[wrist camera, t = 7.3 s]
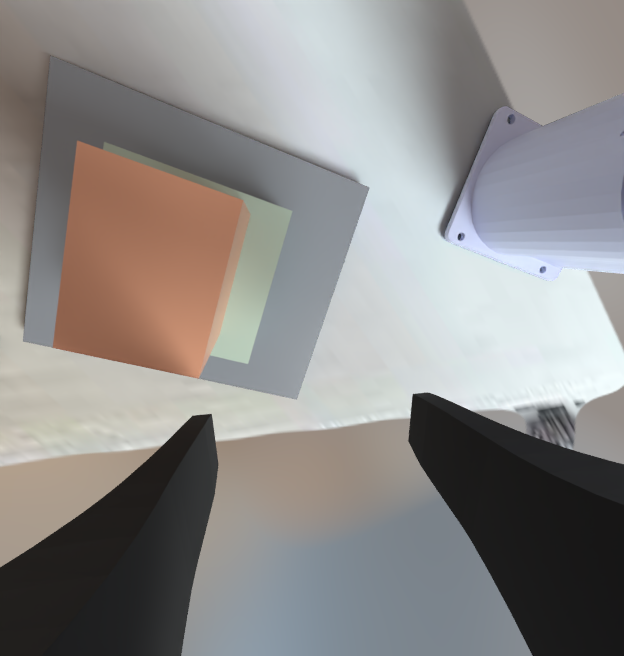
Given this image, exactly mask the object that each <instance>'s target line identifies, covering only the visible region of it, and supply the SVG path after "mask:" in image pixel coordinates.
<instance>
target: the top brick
mask: <svg viewBox="0 0 624 656" xmlns="http://www.w3.org/2000/svg"><path fill="white" fill-rule="evenodd" d="M250 215H251V214H250V212H249V210H248V208H247V207H246V205H245V203H244V201H243V200H241V199H239V198H236V197H233V196H230V195H227V194H225V193H222V192H219V191H216V190H214V189H211V188H208V187H205V186H202V185H200V184H197V183H194V182H191V181H189V180H186V179H183V178H180V177H177V176H175V175H172V174H169V173H166V172H164V171H161V170H158V169H155V168H152V167H150V166H147V165H144V164H141V163H139V162H136V161H133V160H130V159H127V158H125V157H122V156H119V155H116V154H114V153H111V152H108V151H105V150H102V149H100V148H97V147H94V146H91V145H89V144H86V143H83V142H80V141H77V146H76V155H75V163H74V172H73V180H72V188H71V197H70V205H69V214H68V222H67V231H66V239H65V248H64V256H63V264H62V273H61V281H60V290H59V298H58V307H57V315H56V323H55V332H54V340H53V348H56V349H61V350H66V351H70V352H75V353H80V354H85V355H89V356H94V357H99V358H104V359H108V360H113V361H118V362H123V363H127V364H132V365H137V366H142V367H146V368H151V369H156V370H161V371H165V372H170V373H175V374H180V375H184V376H189V377H194V378H199V377H200V375H201V373H202V371H203V369H204V367H205V365H206V362H207V360H208V358H209V356H210V354H211V352H212V350H213V348H214V345H215V343H216V341H217V339H218V337H219V335H220V331H221V328H222V324H223V320H224V316H225V312H226V308H227V304H228V300H229V296H230V293H231V289H232V285H233V281H234V277H235V273H236V269H237V265H238V262H239V258H240V254H241V250H242V246H243V242H244V238H245V234H246V230H247V227H248V223H249V219H250Z"/></svg>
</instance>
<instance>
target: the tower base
mask: <svg viewBox="0 0 624 656" xmlns="http://www.w3.org/2000/svg"><path fill="white" fill-rule="evenodd" d="M77 141H80V142H83V143H86V144H89V145H91V146H94V147H97V148H100V149H102V150H105V151H108V152H111V153H114V154H116V155H119V156H122V157H125V158H127V159H130V160H133V161H136V162H139V163H141V164H144V165H147V166H150V167H152V168H155V169H158V170H161V171H164V172H166V173H169V174H172V175H175V176H177V177H180V178H183V179H186V180H189V181H191V182H194V183H197V184H200V185H202V186H205V187H208V188H211V189H214V190H216V191H219V192H222V193H225V194H227V195H230V196H233V197H236V198H239V199H241V200H243V201H244V203H245V205H246V207H247V208H248V210H249V212H250V214H251V215H250V219H249V223H248V227H247V230H246V234H245V238H244V242H243V246H242V250H241V254H240V258H239V262H238V265H237V269H236V273H235V277H234V281H233V285H232V289H231V293H230V296H229V300H228V304H227V308H226V312H225V316H224V320H223V324H222V328H221V331H220V335H219V337H218V339H217V341H216V343H215V345H214V348H213V350H212V352H211V354H210V356H209V358H208V360H207V362H206V365H205V367H204V369H203V371H202V373H201V375H200V377H199V378H198V379H203V380H208V381H212V382H217V383H222V384H226V385H231V386H236V387H241V388H245V389H250V390H255V391H259V392H264V393H269V394H273V395H278V396H283V397H288V398H292V399H297V397H298V394H299V392H300V389H301V386H302V383H303V380H304V377H305V374H306V371H307V368H308V365H309V362H310V360H311V357H312V354H313V351H314V348H315V345H316V342H317V339H318V336H319V333H320V330H321V328H322V325H323V322H324V319H325V316H326V313H327V310H328V307H329V304H330V301H331V298H332V295H333V293H334V290H335V287H336V284H337V281H338V278H339V275H340V272H341V269H342V266H343V263H344V261H345V258H346V255H347V252H348V249H349V246H350V243H351V240H352V237H353V234H354V231H355V228H356V226H357V223H358V220H359V217H360V214H361V211H362V208H363V205H364V202H365V199H366V196H367V194H368V191H369V187H367V186H364V185H362V184H360V183H357V182H355V181H352V180H350V179H347V178H345V177H343V176H340V175H338V174H335V173H333V172H331V171H328V170H326V169H323V168H321V167H319V166H316V165H314V164H311V163H309V162H306V161H304V160H302V159H299V158H297V157H294V156H292V155H290V154H287V153H285V152H282V151H280V150H278V149H275V148H273V147H270V146H268V145H265V144H263V143H261V142H258V141H256V140H253V139H251V138H249V137H246V136H244V135H241V134H239V133H237V132H234V131H232V130H229V129H227V128H224V127H222V126H220V125H217V124H215V123H212V122H210V121H208V120H205V119H203V118H200V117H198V116H196V115H193V114H191V113H188V112H186V111H183V110H181V109H179V108H176V107H174V106H171V105H169V104H167V103H164V102H162V101H159V100H157V99H154V98H152V97H150V96H147V95H145V94H142V93H140V92H138V91H135V90H133V89H130V88H128V87H126V86H123V85H121V84H118V83H116V82H113V81H111V80H109V79H106V78H104V77H101V76H99V75H97V74H94V73H92V72H89V71H87V70H85V69H82V68H80V67H77V66H75V65H72V64H70V63H68V62H65V61H63V60H60V59H58V58H56V57H53V56H51V55H50V65H49V75H48V85H47V96H46V106H45V117H44V127H43V138H42V148H41V158H40V169H39V179H38V190H37V200H36V211H35V221H34V231H33V242H32V252H31V263H30V273H29V284H28V294H27V304H26V315H25V325H24V336H23V341H24V342H29V343H33V344H38V345H43V346H48V347H52V348H53V340H54V332H55V323H56V315H57V307H58V298H59V290H60V281H61V273H62V264H63V256H64V248H65V239H66V231H67V222H68V214H69V205H70V197H71V188H72V180H73V172H74V163H75V155H76V146H77ZM160 371H161V370H160ZM179 375H180V374H179ZM193 378H194V377H193Z"/></svg>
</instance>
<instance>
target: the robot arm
mask: <svg viewBox="0 0 624 656" xmlns="http://www.w3.org/2000/svg"><path fill="white" fill-rule="evenodd" d="M508 117H509V119H510V124H509V123H508V121H507V119H508ZM459 233H460V234H461V238H460V240H458V238H457V237H458V234H459ZM445 239H446V241H448V242H450V243H453V244H455V245H458V246H460V247H463V248H465V249H468V250H470V251H473V252H475V253H478V254H481V255H483V256H486V257H488V258H491V259H493V260H496V261H498V262H501V263H503V264H506V265H508V266H511V267H514V268H516V269H519V270H521V271H524V272H526V273H529V274H531V275H534V276H536V277H539V278H541V279H544V280H548V281H553V280H555V279H556V278H557V277H558V276H559V274H560V272H561V270H562V268H567V269H578V270H589V271H600V272H610V273H611V272H612V273H623V274H624V93H622V94H620V95H617V96H615V97H613V98H610V99H607V100H605V101H603V102H601V103H598V104H596V105H593V106H590V107H588V108H586V109H583V110H581V111H578V112H576V113H573V114H571V115H569V116H566V117H564V118H561V119H559V120H556V121H554V122H552V123H549V124H547V125H544V126H542V125H540V124H538V123H536V122H534V121H533V120H531V119H529V118H527V117H525V116H524V115H522V114H520V113H518V112H517V111H515V110H513V109H511V108H509V107H507V106H504V107H501V108H499V109H498V110H497V111H495V113H494V115H493V117H492V120H491V122H490V125H489V127H488V129H487V132H486V134H485V137H484V139H483V142H482V144H481V146H480V149H479V151H478V154H477V156H476V158H475V161H474V163H473V166H472V168H471V171H470V173H469V175H468V178H467V180H466V183H465V185H464V187H463V190H462V192H461V195H460V197H459V200H458V202H457V204H456V207H455V209H454V212H453V214H452V216H451V219H450V221H449V224H448V226H447V229H446V231H445ZM540 268H541V271H540ZM409 443H410V445H411V447H412V449H413V451H414V453H415V455H416V457H417V459H418V461H419V463H420V465H421V467H422V468H423V469H424V471H425V472H426V474H427V476H428V477H429V479H430V480H431V482H432V483H433V485H434V486H435V487H436V489H437V490H438V492H439V493H440V495H441V496H442V498H443V499H444V501H445V502H446V503H447V505H448V506H449V508H450V509H451V511H452V512H453V514H454V515H455V517H456V518H457V519H458V521H459V522H460V524H461V525H462V527H463V528H464V530H465V531H466V533H467V535H468V536H469V538H470V539H471V541H472V543H473V544H474V546H475V548H476V550H477V551H478V553H479V555H480V557H481V559H482V560H483V562H484V564H485V566H486V567H487V569H488V571H489V573H490V574H491V576H492V578H493V580H494V582H495V584H496V586H497V587H498V589H499V591H500V593H501V595H502V597H503V598H504V601H505V602H506V604H507V606H508V608H509V610H510V612H511V613H512V616H513V618H514V619H515V622H516V624H517V626H518V628H519V630H520V632H521V633H522V635H523V637H524V639H525V641H526V643H527V645H528V647H529V649H530V651H531V653H532V655H533V656H624V464H620V463H616V462H612V461H608V460H605V459H601V458H598V457H594V456H591V455H587V454H583V453H580V452H577V451H574V450H570V449H567V448H564V447H561V446H558V445H555V444H552V443H549V442H547V441H544V440H541V439H538V438H535V437H532V436H530V435H527V434H524V433H522V432H519V431H517V430H514V429H512V428H509V427H507V426H505V425H502V424H499V423H497V422H495V421H493V420H490V419H488V418H486V417H483V416H481V415H479V414H477V413H475V412H472V411H470V410H468V409H466V408H464V407H462V406H459V405H457V404H455V403H453V402H451V401H448V400H446V399H444V398H441V397H439V396H436V395H434V394H431V393H419V394H413V397H412V408H411V419H410V430H409ZM217 471H218V459H217V451H216V443H215V435H214V428H213V420H212V414H206V415H196V416H192V417H191V418H190V419H189V420H188V421H187V422H186V423H185V424H184V425H183V426H182V427H181V428H180V429H179V430H178V431H177V432H176V433H175V434H174V435H173V436H172V437H171V438H170V439H169V440H168V441H167V442H166V443H165V444H164V445H163V446H162V447H161V448H160V449H159V450H158V451H157V452H155V453H154V454H153V455H152V456H151V457H150V458H149V459H148V460H147V461H146V462H145V463H143V464H142V465H141V466H140V467H139V468H138V469H137V470H135V471H134V472H133V473H132V474H131V475H130V476H129V477H128V478H126V479H125V480H124V481H123V482H122V483H121V484H119V486H117V487H116V488H115V489H113V490H112V491H111V492H109V493H108V494H107V495H106V496H104V497H103V498H102V499H101V500H99V501H98V502H97V503H95V504H94V505H92V506H91V507H90V508H89V509H87V510H86V511H84V512H83V513H82V514H80V515H79V516H78V517H76V518H75V519H73V520H72V521H70V522H69V523H67V524H66V525H64V526H63V527H61V528H60V529H59V530H57V531H56V532H54V533H53V534H51V535H50V536H48V537H47V538H46V539H44V540H42V541H41V542H39V543H38V544H36V545H35V546H34V547H32V548H31V549H29V550H27V551H26V552H24V553H23V554H21V555H19V556H18V557H16V558H15V559H13V560H11V561H10V562H8V563H7V564H5V565H4V566H2V567H0V656H181V653H182V646H183V639H184V633H185V627H186V621H187V614H188V608H189V602H190V596H191V590H192V585H193V580H194V576H195V571H196V567H197V563H198V559H199V555H200V551H201V547H202V543H203V539H204V535H205V531H206V527H207V523H208V519H209V515H210V511H211V507H212V502H213V499H214V494H215V487H216V479H217Z"/></svg>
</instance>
